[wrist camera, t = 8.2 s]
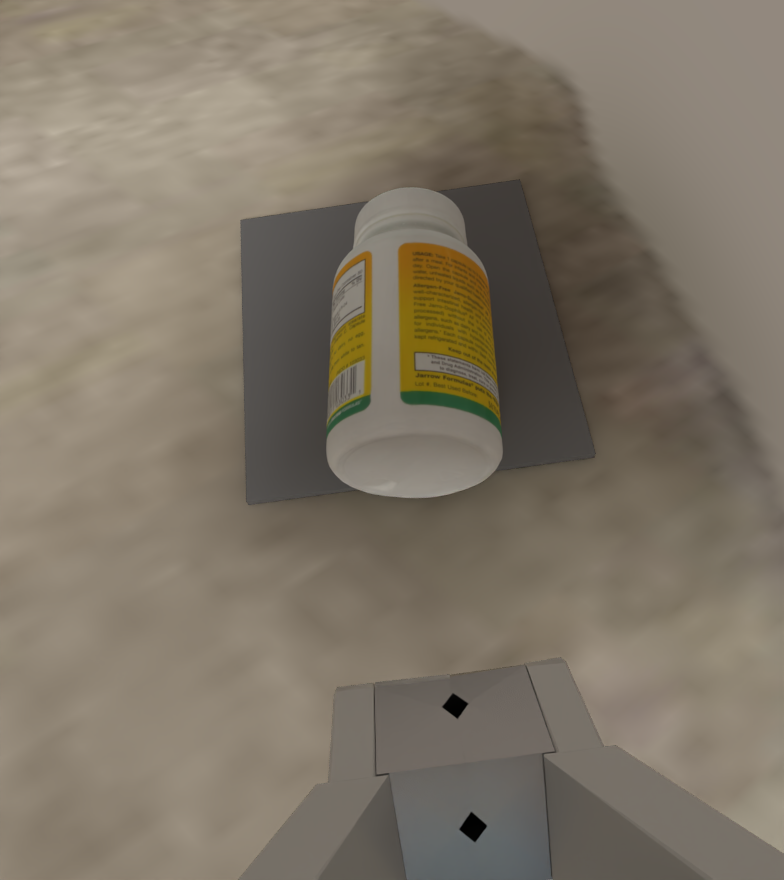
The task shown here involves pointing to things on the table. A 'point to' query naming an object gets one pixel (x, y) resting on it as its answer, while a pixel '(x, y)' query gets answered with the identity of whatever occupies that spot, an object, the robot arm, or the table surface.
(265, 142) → the table surface
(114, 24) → the table surface
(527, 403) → the rubber mat
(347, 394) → the supplement bottle
